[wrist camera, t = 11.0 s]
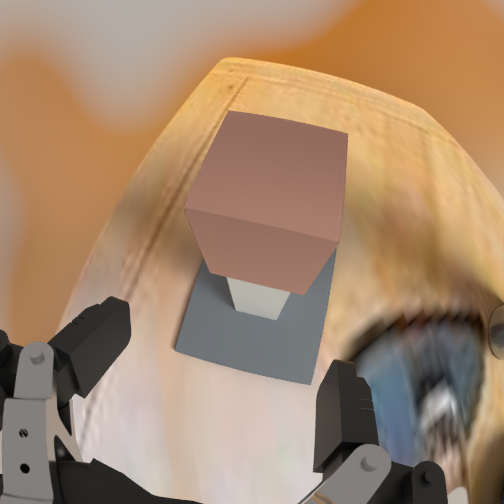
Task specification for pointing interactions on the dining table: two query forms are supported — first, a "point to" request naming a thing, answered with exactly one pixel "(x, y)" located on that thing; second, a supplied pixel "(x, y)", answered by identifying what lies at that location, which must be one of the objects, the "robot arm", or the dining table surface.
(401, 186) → the dining table surface
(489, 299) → the dining table surface
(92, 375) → the robot arm
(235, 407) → the dining table surface
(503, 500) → the decorative sphere
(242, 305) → the square base with post
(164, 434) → the dining table surface
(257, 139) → the cap
